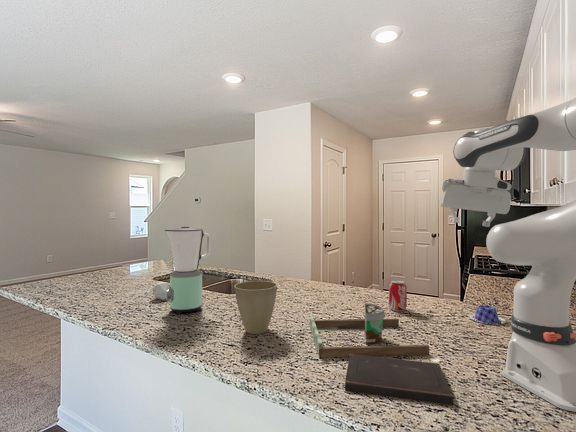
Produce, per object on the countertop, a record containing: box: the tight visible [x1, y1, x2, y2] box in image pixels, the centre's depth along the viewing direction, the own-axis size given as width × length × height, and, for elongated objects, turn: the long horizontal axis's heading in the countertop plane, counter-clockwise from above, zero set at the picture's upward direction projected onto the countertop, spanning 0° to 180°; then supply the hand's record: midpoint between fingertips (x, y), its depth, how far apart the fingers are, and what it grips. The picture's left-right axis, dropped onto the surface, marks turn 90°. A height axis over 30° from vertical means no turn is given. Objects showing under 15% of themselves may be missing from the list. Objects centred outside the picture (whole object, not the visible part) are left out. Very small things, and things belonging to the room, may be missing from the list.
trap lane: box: [309, 315, 430, 358], centre depth 105 cm, size 24×32×4 cm
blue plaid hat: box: [468, 304, 507, 325], centre depth 123 cm, size 12×12×5 cm
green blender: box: [164, 226, 212, 315], centre depth 137 cm, size 19×13×35 cm
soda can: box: [388, 279, 408, 313], centre depth 136 cm, size 7×7×12 cm
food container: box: [364, 302, 386, 346], centre depth 105 cm, size 12×6×10 cm, turn 168°
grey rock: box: [151, 281, 170, 301], centre depth 154 cm, size 8×9×10 cm
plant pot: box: [234, 280, 278, 335], centre depth 113 cm, size 15×15×16 cm
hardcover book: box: [344, 354, 454, 406], centre depth 80 cm, size 16×23×2 cm
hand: (470, 224), depth 105 cm, fingers open, 8 cm apart
